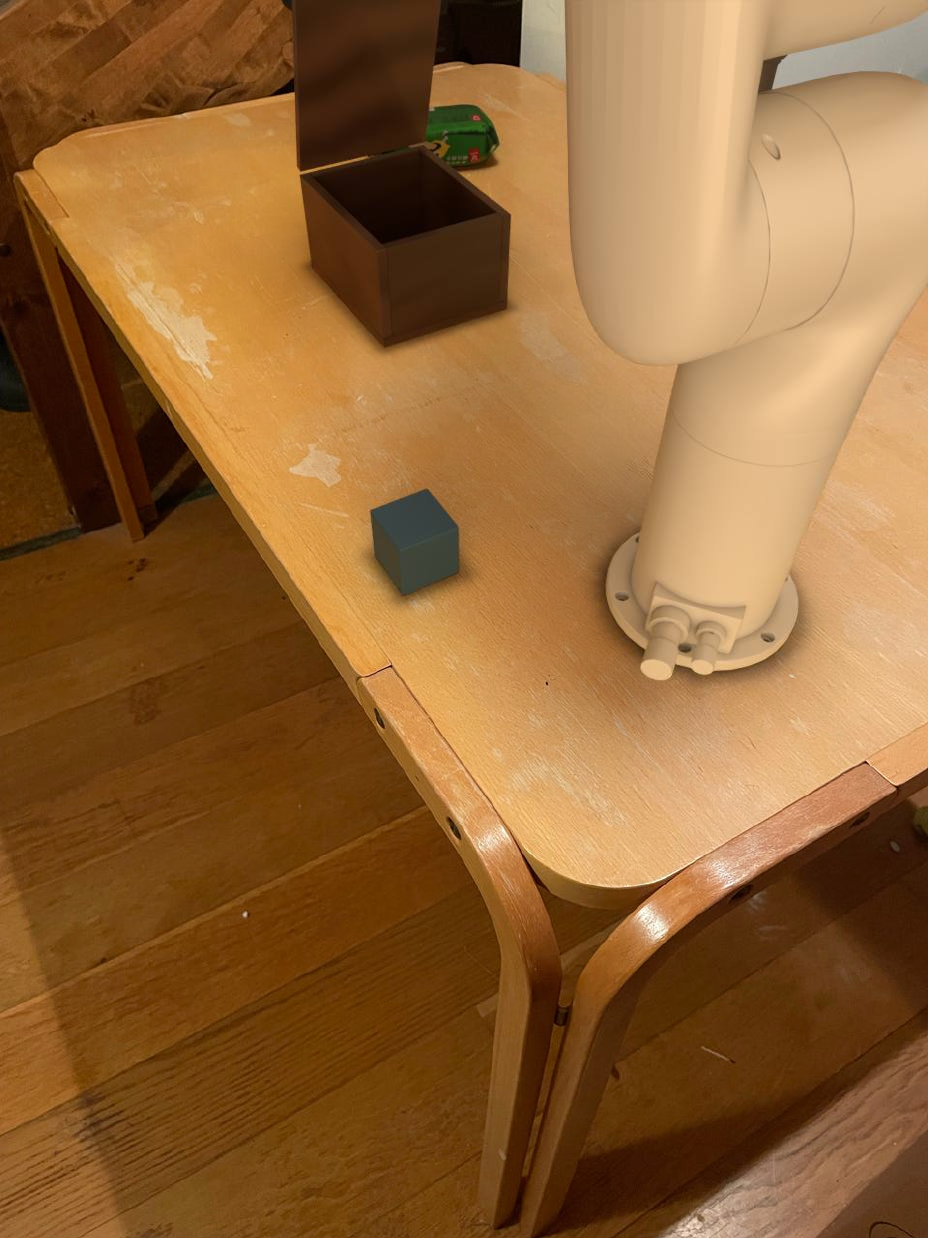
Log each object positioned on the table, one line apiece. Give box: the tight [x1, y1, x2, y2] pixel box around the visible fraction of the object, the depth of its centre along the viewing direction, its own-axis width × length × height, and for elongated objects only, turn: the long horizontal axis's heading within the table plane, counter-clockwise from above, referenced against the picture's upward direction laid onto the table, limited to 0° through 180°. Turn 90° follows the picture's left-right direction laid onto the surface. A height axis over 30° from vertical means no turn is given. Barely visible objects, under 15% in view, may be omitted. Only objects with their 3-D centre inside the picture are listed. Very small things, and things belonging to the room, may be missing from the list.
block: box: [369, 488, 460, 596], centre depth 61 cm, size 4×4×4 cm
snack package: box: [367, 103, 500, 168], centre depth 101 cm, size 7×16×5 cm, turn 102°
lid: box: [291, 0, 442, 173], centre depth 76 cm, size 17×13×6 cm
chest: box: [299, 145, 512, 348], centre depth 82 cm, size 16×13×9 cm
